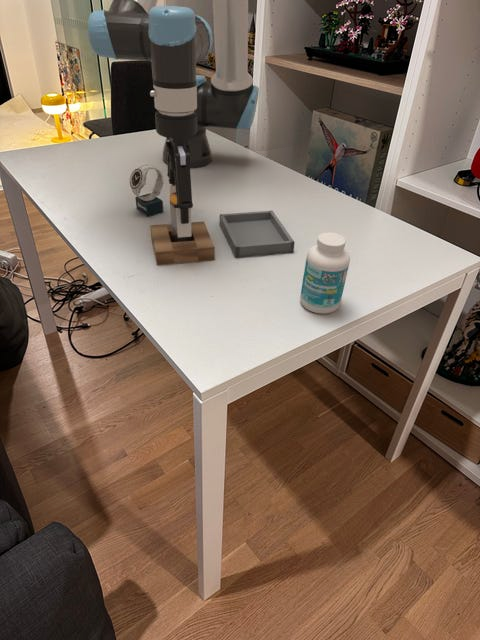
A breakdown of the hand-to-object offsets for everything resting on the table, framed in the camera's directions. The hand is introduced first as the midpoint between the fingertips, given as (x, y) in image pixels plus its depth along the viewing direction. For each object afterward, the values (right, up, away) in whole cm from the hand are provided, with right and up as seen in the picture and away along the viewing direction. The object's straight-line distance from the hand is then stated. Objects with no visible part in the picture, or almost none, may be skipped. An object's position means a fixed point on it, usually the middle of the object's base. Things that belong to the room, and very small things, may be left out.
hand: (180, 224), depth 97 cm
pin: (0, -4, +3) cm, 6 cm away
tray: (+16, -1, +9) cm, 18 cm away
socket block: (0, -4, +3) cm, 6 cm away
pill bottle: (+27, -17, -11) cm, 34 cm away
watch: (-10, +7, +18) cm, 21 cm away
